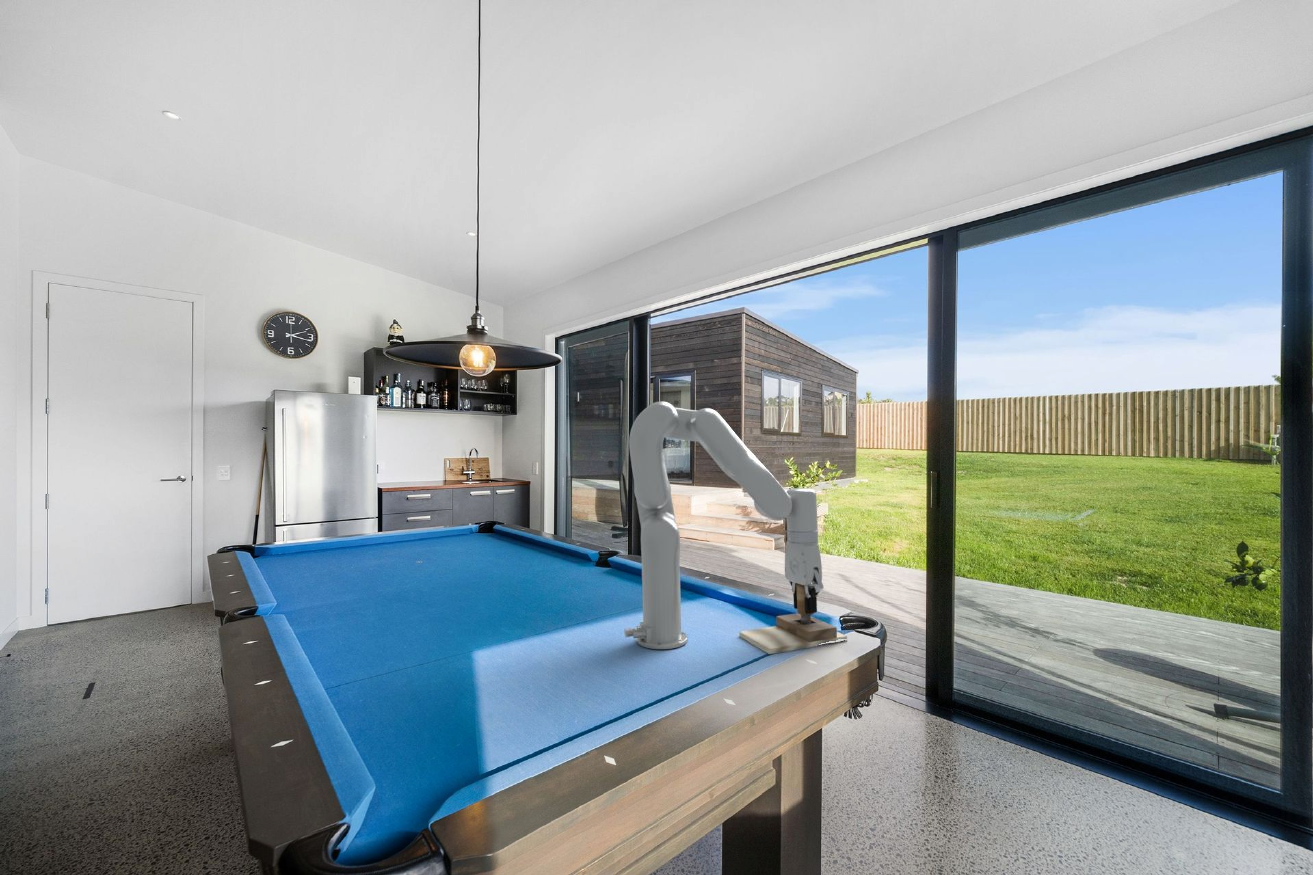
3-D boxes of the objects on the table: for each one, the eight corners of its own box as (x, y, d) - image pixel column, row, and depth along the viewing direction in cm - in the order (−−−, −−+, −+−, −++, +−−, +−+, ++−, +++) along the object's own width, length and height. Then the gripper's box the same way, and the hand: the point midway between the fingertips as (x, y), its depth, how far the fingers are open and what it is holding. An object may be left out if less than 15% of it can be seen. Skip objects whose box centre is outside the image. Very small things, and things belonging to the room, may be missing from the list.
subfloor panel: (769, 654, 127) (768, 637, 127) (739, 636, 140) (739, 621, 140) (847, 640, 135) (846, 625, 135) (812, 625, 148) (811, 611, 148)
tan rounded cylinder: (804, 630, 136) (802, 587, 137) (794, 625, 140) (793, 584, 141) (817, 627, 138) (816, 585, 138) (808, 623, 142) (806, 582, 142)
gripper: (771, 534, 146) (774, 604, 146) (810, 543, 131) (813, 621, 130) (795, 532, 149) (798, 600, 148) (836, 540, 133) (839, 617, 133)
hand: (805, 609), depth 139 cm, fingers closed on tan rounded cylinder, 4 cm apart
